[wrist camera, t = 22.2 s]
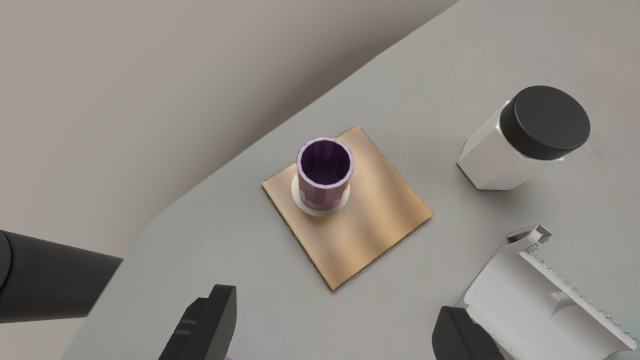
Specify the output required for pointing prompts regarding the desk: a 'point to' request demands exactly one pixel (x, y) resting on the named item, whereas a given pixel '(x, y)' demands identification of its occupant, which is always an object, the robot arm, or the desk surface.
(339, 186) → the plum cup
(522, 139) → the jar
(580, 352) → the skate ramp
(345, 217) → the board
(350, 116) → the desk surface
